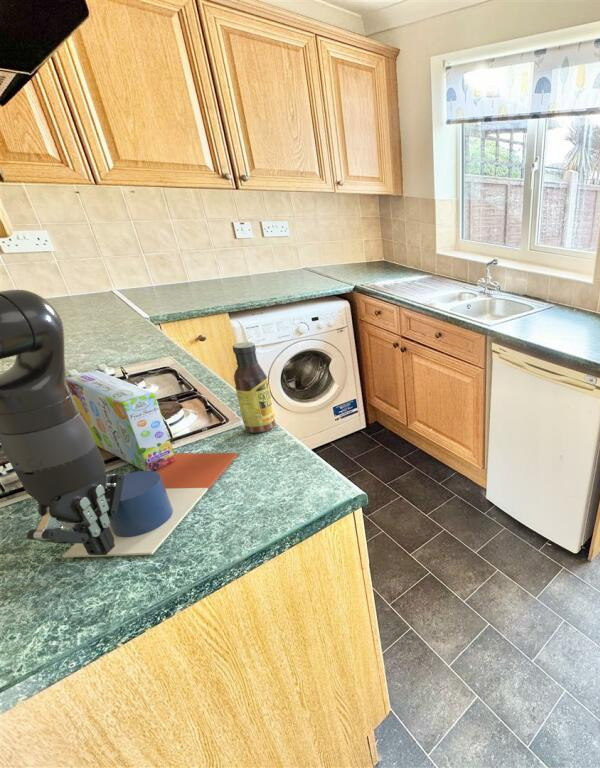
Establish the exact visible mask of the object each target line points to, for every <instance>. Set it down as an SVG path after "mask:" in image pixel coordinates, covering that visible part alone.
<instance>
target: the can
mask: <svg viewBox="0 0 600 768" xmlns="http://www.w3.org/2000/svg"><path fill="white" fill-rule="evenodd" d="M155 471H156V470H153V471H143V470H138V471H133V472H128V473H125V474H123V475H124V482H123V487H122V493H121V498H120V503H119V508H118V513H117V514H116V515H115V516H111V518H110V519H109V520H110V527H111V529H112V531H113V533H114V534H115V535H116V536H119V537H134V536H139V535H142V534H145V533H148V532H150V531H152V530H155V529H156V528H158V527H160V526H161V525H163V524H164V523H165V522H167V521H168V520H169V518H170V517H171V516H172V513H173V509H172V506H171V503H170V500H169V498H168V495H167V492H166V489H165V487H164V484H163V481H162V478H161V476H160V474H159V473H157V472H155ZM106 501H107V504H108V506H109V503H110V499H109V498H107V499H106Z"/></svg>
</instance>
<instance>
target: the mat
mask: <svg viewBox="0 0 600 768" xmlns="http://www.w3.org/2000/svg"><path fill="white" fill-rule="evenodd" d="M174 455H175V458H176V461H174V462H172V463H170V464H167V465H165V466H162V467H160V468H157V469H155V470H154V471H155V472H157V473H159V474H160V476H161V478H162V481H163V484H164V487H165V489H166V492H167V495H168V498H169V500H170V503H171V506H172V509H173V513H172V516H171V517H170V518H169V520H168V521H167V522H165V523H164V524H163V525H161V526H160V527H158V528H156V529H155V530H152V531H150V532H148V533H145V534H142V535H139V536H134V537H119V536H116V535H115V534H114V533H113V531H112V529H111V527H110V525H109V528H110V530H111V533H112V535H113V537H114V544H115V547H114V548H113V549H112V550H111V551H110V552H109V553H108V554H106V555H89V554H88V553H87V550H86V549H85V547H84V545H83V543H73V545H72V546H71V547H70V548H69V549H68V550H67V551H65V552H64V553H63V554H62V555H61V557H62V559H63V558H64V559H66V558H67V559H68V558H95V557H96V558H97V557H123V556H127V557H128V556H153V555H154V553H155V552H156V551H158V549H159V548H160V546H161V545H162V544H163V543H164V542H165V541H166V539H167V538H168V537H169V536H170V535H171V534H172V533H173V531H174V530H175V529H176V528H177V527H178V525H179V524H180V523H181V522H182V521H183V519H184V518H185V517H186V516H187V515H188V514H189V513H190V511H191V510H192V509H193V508H194V507H195V506H196V505H197V503H198V502H199V501H200V500H201V498H203V496H204V495H205V494H206V493H207V491H208V490H209V489H210V488H211V487H212V486H213V485H214V483H215V482H216V481H217V480H218V478H219V477H220V476H221V475H222V474H223V473H224V471H225V470H226V469H227V468H228V467H229V466H230V464H232V462H233V461H234V460H235V459H236V457H237V456H238V452H225V453H223V452H222V453H221V452H220V453H219V452H218V453H217V452H213V453H207V452H206V453H174Z"/></svg>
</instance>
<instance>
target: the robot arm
mask: <svg viewBox="0 0 600 768" xmlns="http://www.w3.org/2000/svg"><path fill="white" fill-rule="evenodd" d="M61 318H62V317H60V314H59V313H58V310H57V309H56V308H55V307H54V306H53V304H52V303H50V302H49V301H48V300H47V299H46V298H44V297H42V296H41V295H39V294H37V293H35V292H32V291H29V290H26V289H8V290H0V360H3V359H7V358H11V357H15V360H14V363H13V365H12V366H11V367H10V368H8V369H7V370H6V371H4V372H2V373H0V445H1V448H2V450H3V452H4V454H5V457H6V458H7V460H8V461H9V463H10V465H11V467H12V469H13V471H14V472H15V474H16V476H17V478H18V479H19V482H20V483H21V485H22V487H23V489H24V491H25V493H26V494H28V496H30V497H31V498H33V499H34V500H35V501H37V507H38V509H37V512H38V514H39V516H40V517H42V518H41V520H40V521H39V524H38V525H37V526H38V527H36V528H32V529H30V530H29V531H27V533H26V538H27V539H28V540H30V541H31V540H32V541H39V542H45V543H53V544H60V545H68V544H76V543H83V545H84V547H85V549H86V550H87V553H88V554H89V555H106V554H108V553H109V552H110V551H111V550H112V549H113V548H114V547H115V544H114V537H113V535H112V533H111V530H110V528H109V525H110V520H109V519H110V518H111V516H115V515H116V514H117V513H118V508H119V503H120V498H121V493H122V487H123V482H124V475H125V474H123V473H107V472H106V470H107V465H106V463H105V461H104V459H103V456H102V454H101V452H100V450H99V446H97V445H96V442H95V440H94V438H93V436H92V433H91V431H90V429H89V427H88V425H87V423H86V421H85V420H84V419H83V417H82V416H81V414H80V412H79V410H78V408H77V406H76V403H75V401H74V399H73V397H72V394H71V392H70V390H69V388H68V385H67V383H66V378H67V373H66V371H67V370H66V358H65V347H66V346H65V345H66V344H65V343H66V342H65V328H64V324H63V320H62V319H61ZM107 498H109V499H110V503H109V506H108V504H107V501H106V499H107ZM59 522H60V523H61V524H60V523H59ZM65 528H68V529H69V530H66V529H65Z"/></svg>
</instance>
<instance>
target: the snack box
mask: <svg viewBox="0 0 600 768" xmlns="http://www.w3.org/2000/svg"><path fill="white" fill-rule="evenodd" d="M66 383H67V386H68V388H69V390H70V392H71V395H72V397H73V399H74V401H75V404H76V406H77V408H78V411H79V412H80V414H81V416H82V417H83V419H84V420H85V421H86V423H87V425H88V427H89V429H90V431H91V433H92V436H93V438H94V440H95V442H96V445H97V447H98V448H101V449H103V450H104V451H106V452H108V453H109V454H112V455H114V456H116V457H118V458H120V459H121V460H123V461H126V462H127V463H128V464H131V465H132V466H134V467H137V468H138V469H139V470H141V471H156V470H157V469H158V468H160V467H162V466H165V465H167V464H170V463H172V462H174V461H176V458H175V455H174V454H175V452H174V449H173V446H172V442H171V439H170V438H169V434H168V430H167V427H166V424H165V421H164V418H163V414H162V413H161V409H160V406H159V402H158V399H157V397H156V394H155V392H154V391H151V390H149V389H146V388H144V387H141V386H139V385H136V384H133V383H130V382H128V381H125V380H123V379H120V378H118V377H115V376H113V375H110V374H107V373H104V372H102V371H100V370H97V369H96V370H92V371H88V372H84V373H80V374H77V375H72V376H69V377H66Z"/></svg>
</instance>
